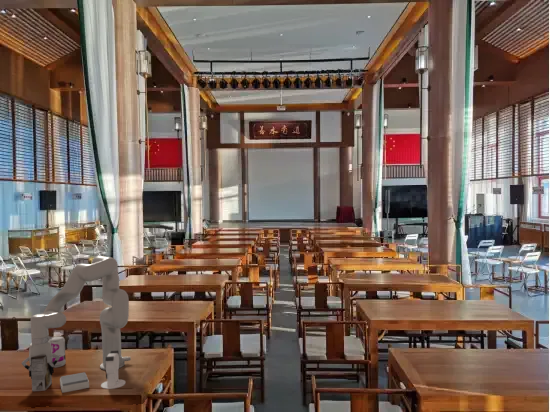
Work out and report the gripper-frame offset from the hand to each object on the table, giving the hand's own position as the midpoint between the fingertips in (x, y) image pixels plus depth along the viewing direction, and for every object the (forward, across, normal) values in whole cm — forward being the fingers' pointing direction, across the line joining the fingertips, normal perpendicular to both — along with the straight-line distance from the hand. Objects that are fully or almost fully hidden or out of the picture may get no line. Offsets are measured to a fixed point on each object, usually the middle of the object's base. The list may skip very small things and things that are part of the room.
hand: (41, 376), depth 243 cm
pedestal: (+6, -14, +6) cm, 16 cm away
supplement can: (+6, -9, -31) cm, 33 cm away
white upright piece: (+6, -31, +14) cm, 35 cm away
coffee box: (+6, 0, 0) cm, 6 cm away
